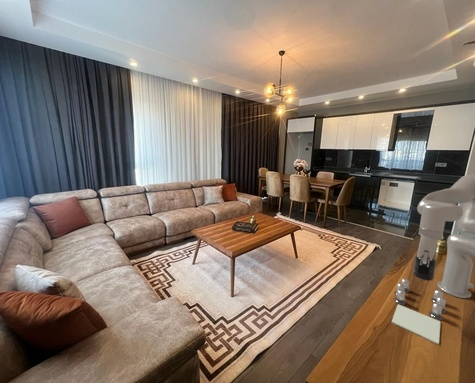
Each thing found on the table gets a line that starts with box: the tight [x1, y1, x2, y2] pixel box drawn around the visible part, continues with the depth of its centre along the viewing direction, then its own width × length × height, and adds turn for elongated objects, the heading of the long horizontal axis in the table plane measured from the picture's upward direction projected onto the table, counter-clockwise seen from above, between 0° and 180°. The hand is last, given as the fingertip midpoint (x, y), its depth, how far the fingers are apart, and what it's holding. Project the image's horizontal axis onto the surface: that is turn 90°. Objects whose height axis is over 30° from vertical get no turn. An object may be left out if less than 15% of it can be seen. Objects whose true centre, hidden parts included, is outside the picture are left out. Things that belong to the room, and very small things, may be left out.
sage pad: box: [391, 303, 441, 346], centre depth 90 cm, size 15×15×1 cm
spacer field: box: [394, 277, 447, 321], centre depth 102 cm, size 17×19×6 cm
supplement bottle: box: [412, 253, 437, 282], centre depth 90 cm, size 7×7×12 cm
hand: (423, 270), depth 91 cm, fingers closed on supplement bottle, 6 cm apart
